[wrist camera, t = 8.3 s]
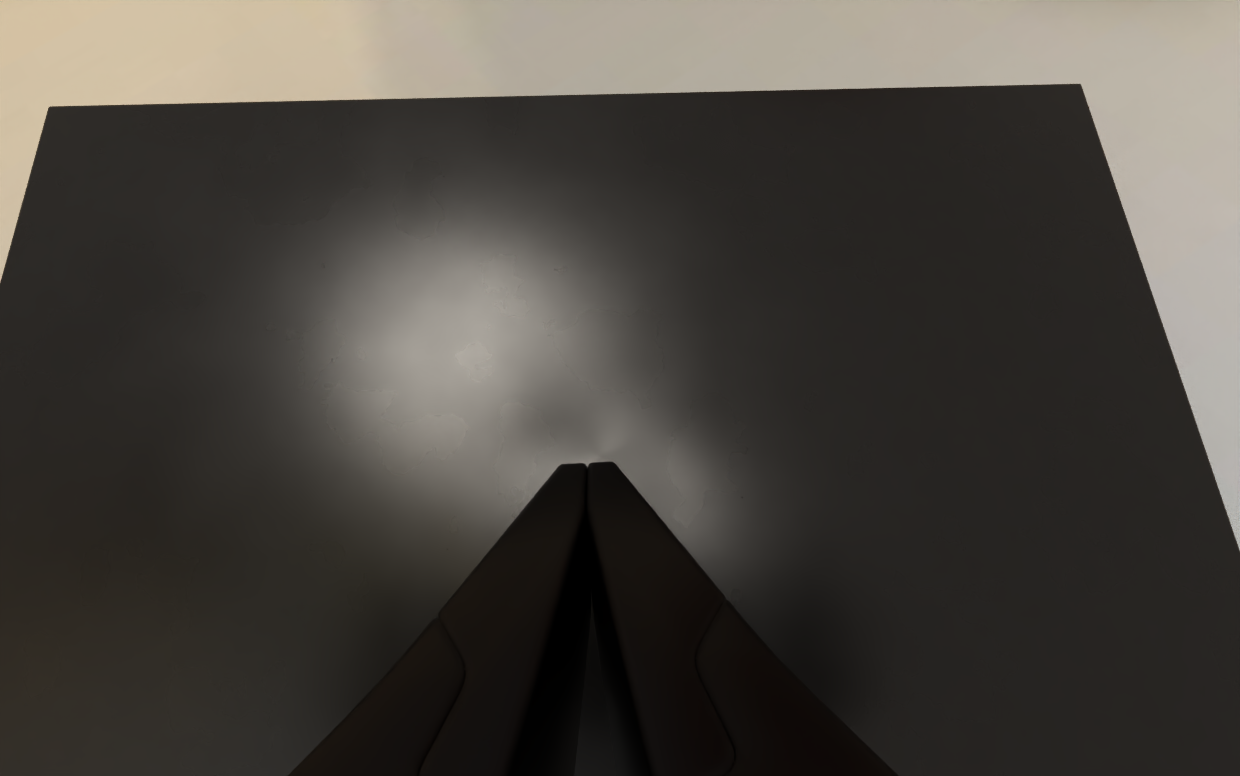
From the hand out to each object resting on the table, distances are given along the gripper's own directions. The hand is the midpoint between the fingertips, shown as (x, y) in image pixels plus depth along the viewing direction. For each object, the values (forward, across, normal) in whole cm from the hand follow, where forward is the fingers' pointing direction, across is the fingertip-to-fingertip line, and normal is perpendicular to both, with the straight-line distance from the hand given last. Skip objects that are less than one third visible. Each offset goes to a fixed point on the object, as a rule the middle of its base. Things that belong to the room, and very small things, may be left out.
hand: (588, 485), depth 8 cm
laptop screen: (+4, 0, +3) cm, 5 cm away
